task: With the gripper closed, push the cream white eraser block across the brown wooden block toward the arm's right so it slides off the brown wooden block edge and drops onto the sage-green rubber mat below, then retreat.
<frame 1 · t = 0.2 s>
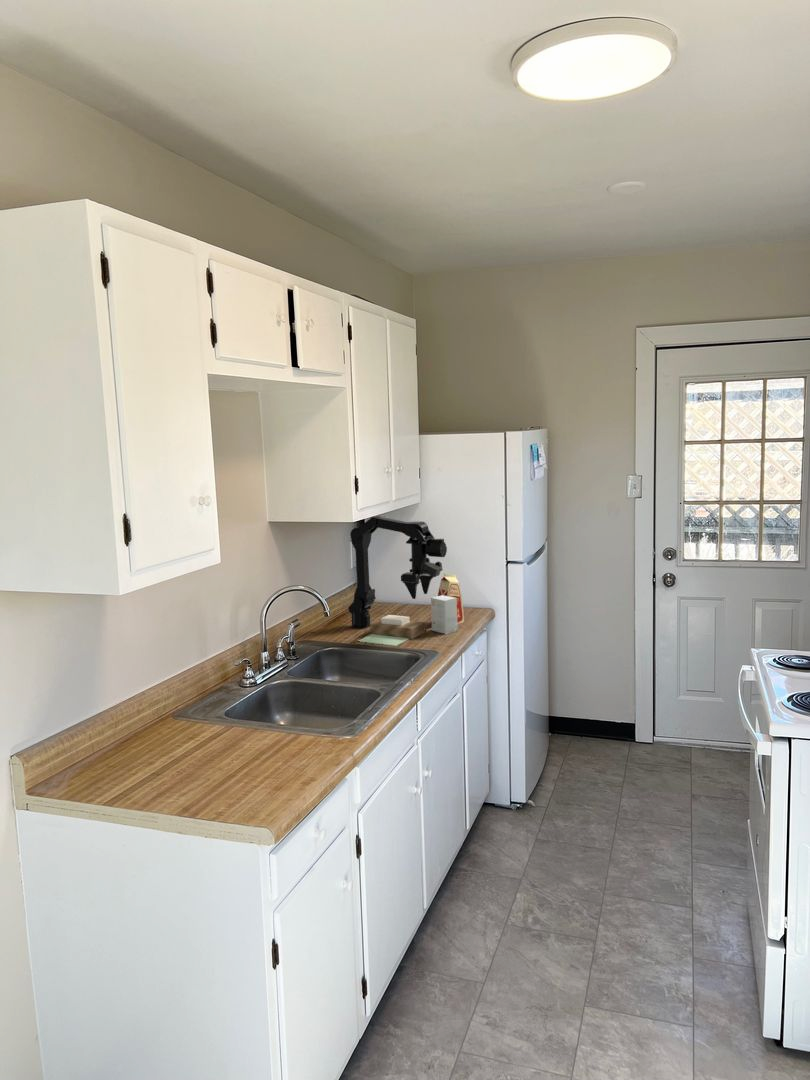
hand: (419, 596, 304), 14 cm above the worktop, fingers open, 9 cm apart
mat: (383, 640, 296), on the worktop
small box: (444, 631, 307), on the worktop
milk carton: (450, 622, 320), on the worktop
cream white eraser block: (395, 622, 306), point 4 cm above the worktop, touching brown wooden block
brown wooden block: (397, 633, 305), on the worktop
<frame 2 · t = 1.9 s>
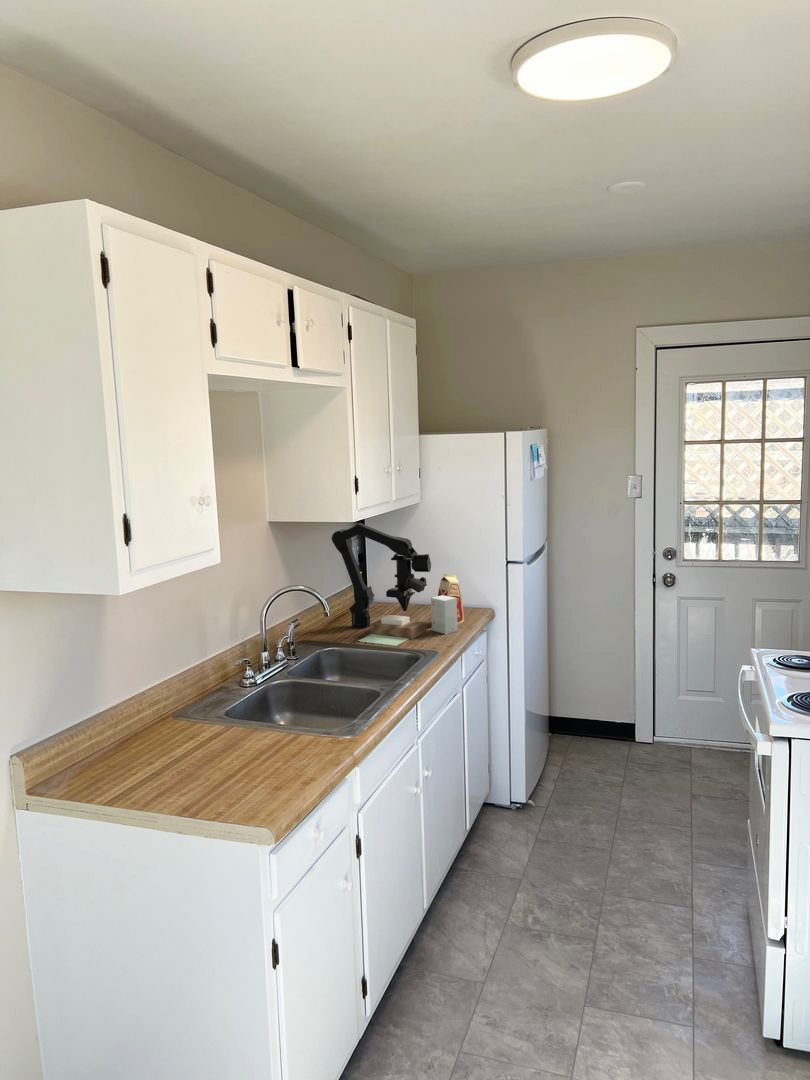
hand: (405, 611, 312), 7 cm above the worktop, fingers closed
nothing on the worktop moved.
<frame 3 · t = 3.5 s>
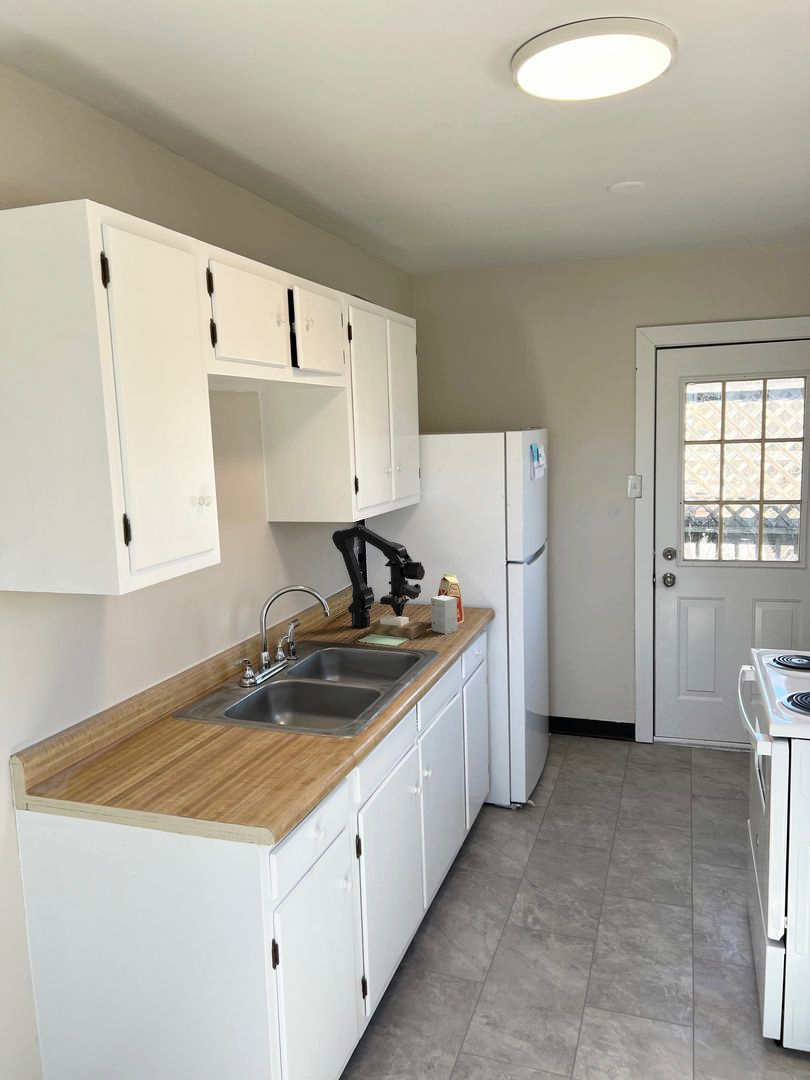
hand: (399, 618, 308), 5 cm above the worktop, fingers closed
nothing on the worktop moved.
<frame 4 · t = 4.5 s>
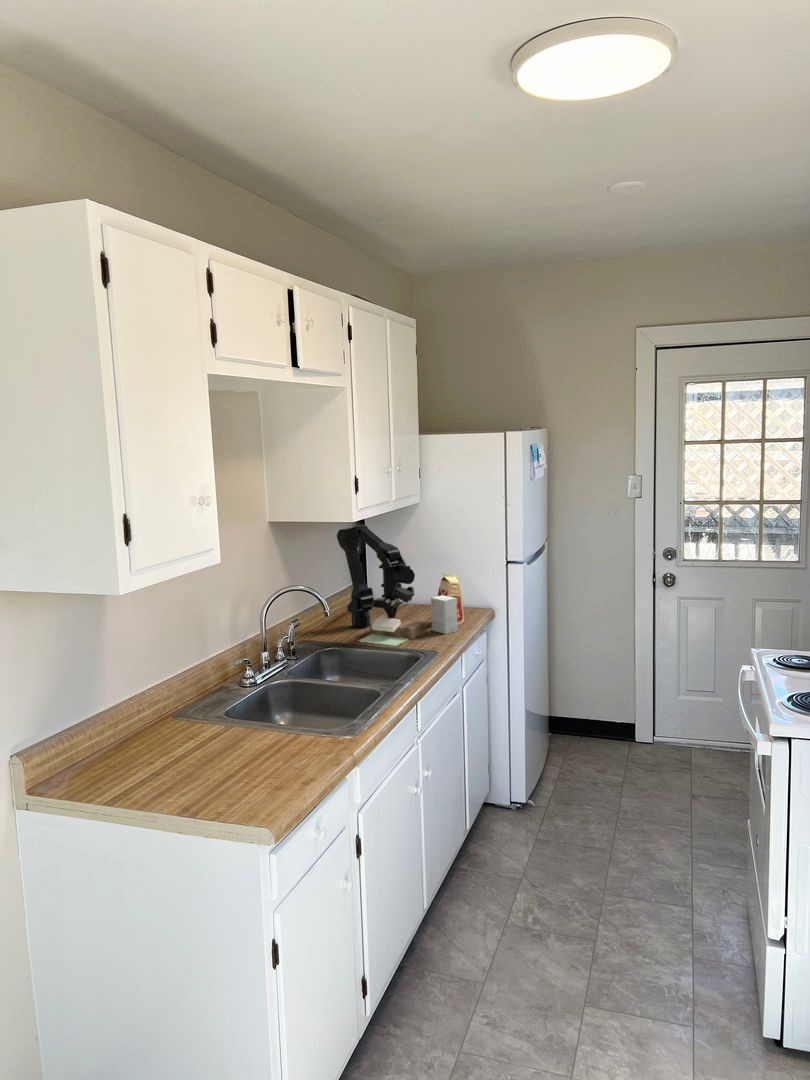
hand: (392, 621, 304), 5 cm above the worktop, fingers closed
cream white eraser block: (386, 626, 301), point 4 cm above the worktop, tilted 17°, touching brown wooden block
everything else where it was.
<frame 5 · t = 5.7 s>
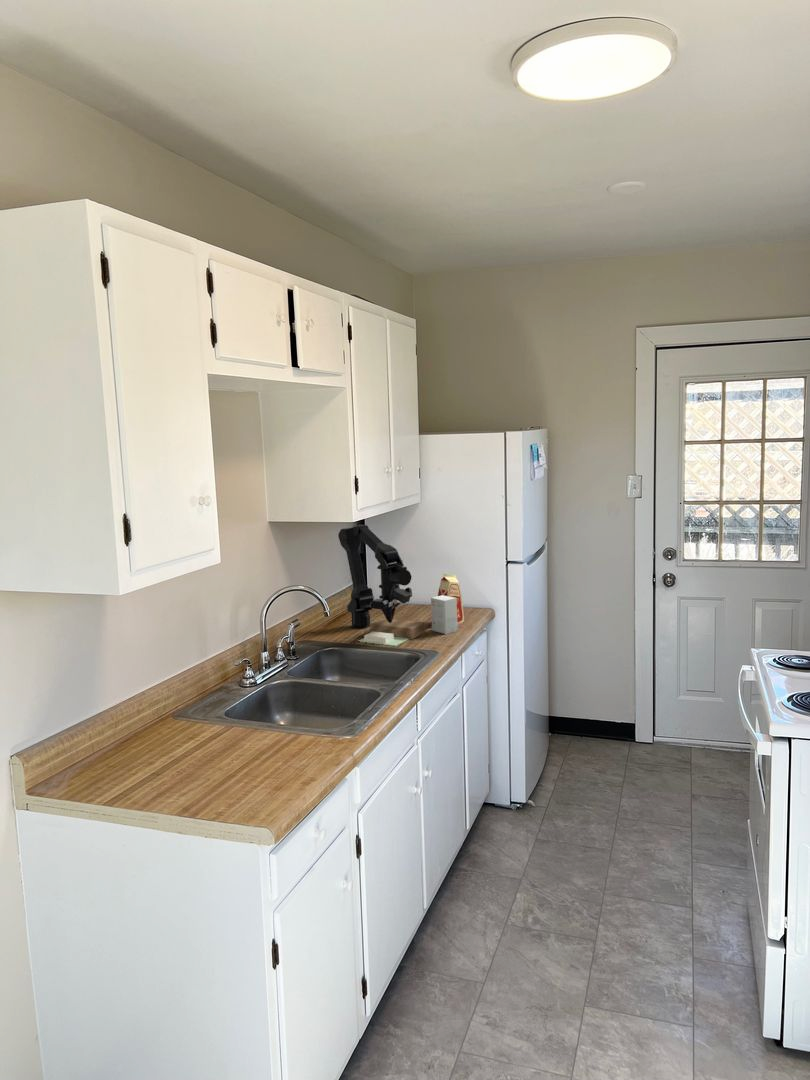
hand: (390, 622, 302), 5 cm above the worktop, fingers closed
cream white eraser block: (378, 634, 296), point 2 cm above the worktop, tilted 180°, touching mat
everything else where it was.
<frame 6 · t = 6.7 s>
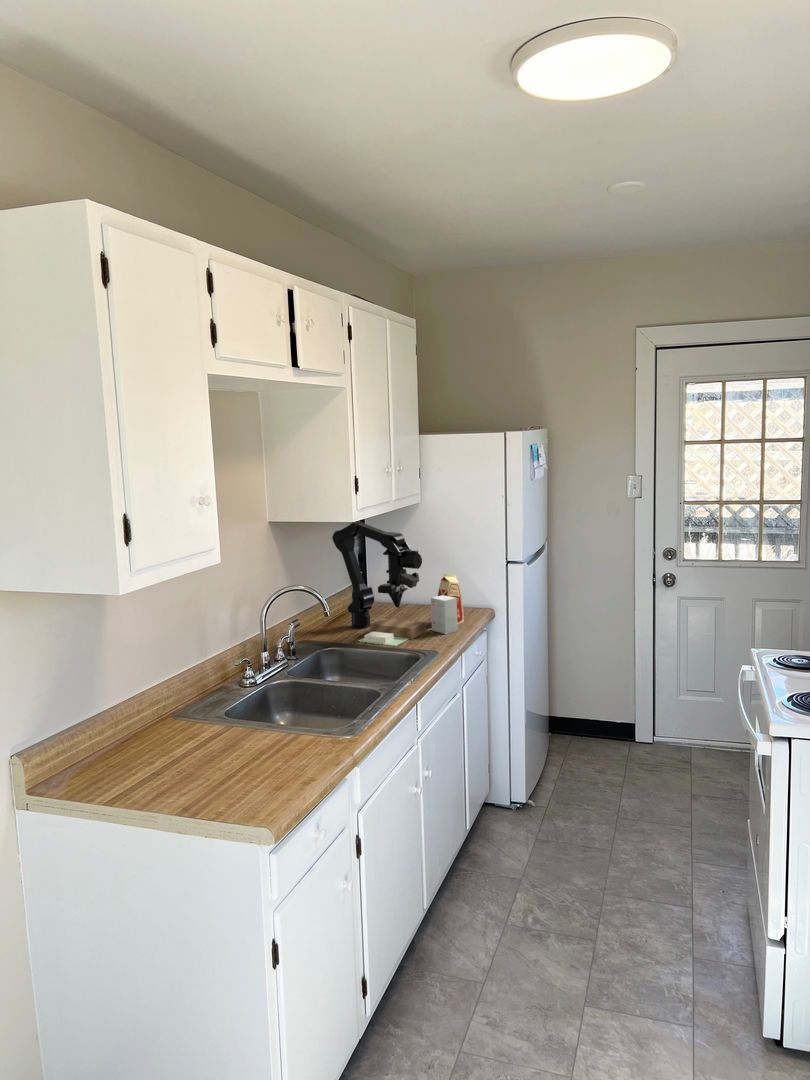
hand: (397, 607, 306), 10 cm above the worktop, fingers closed
nothing on the worktop moved.
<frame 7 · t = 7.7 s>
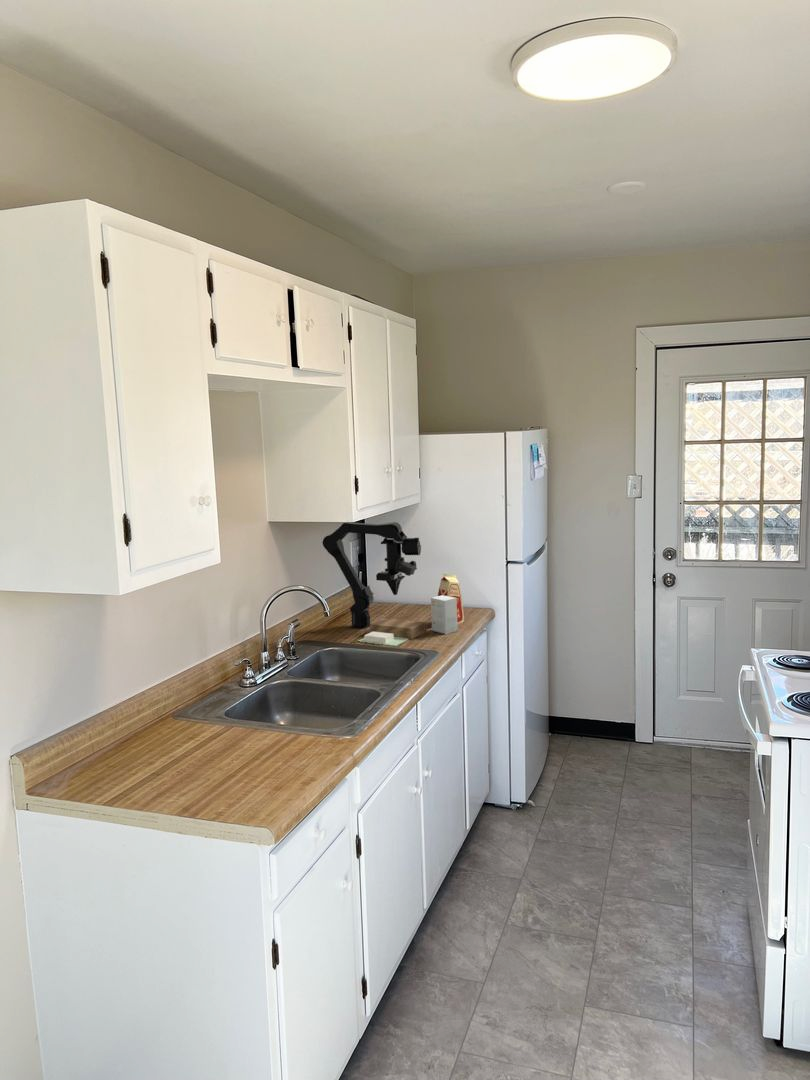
hand: (395, 594, 313), 13 cm above the worktop, fingers closed
nothing on the worktop moved.
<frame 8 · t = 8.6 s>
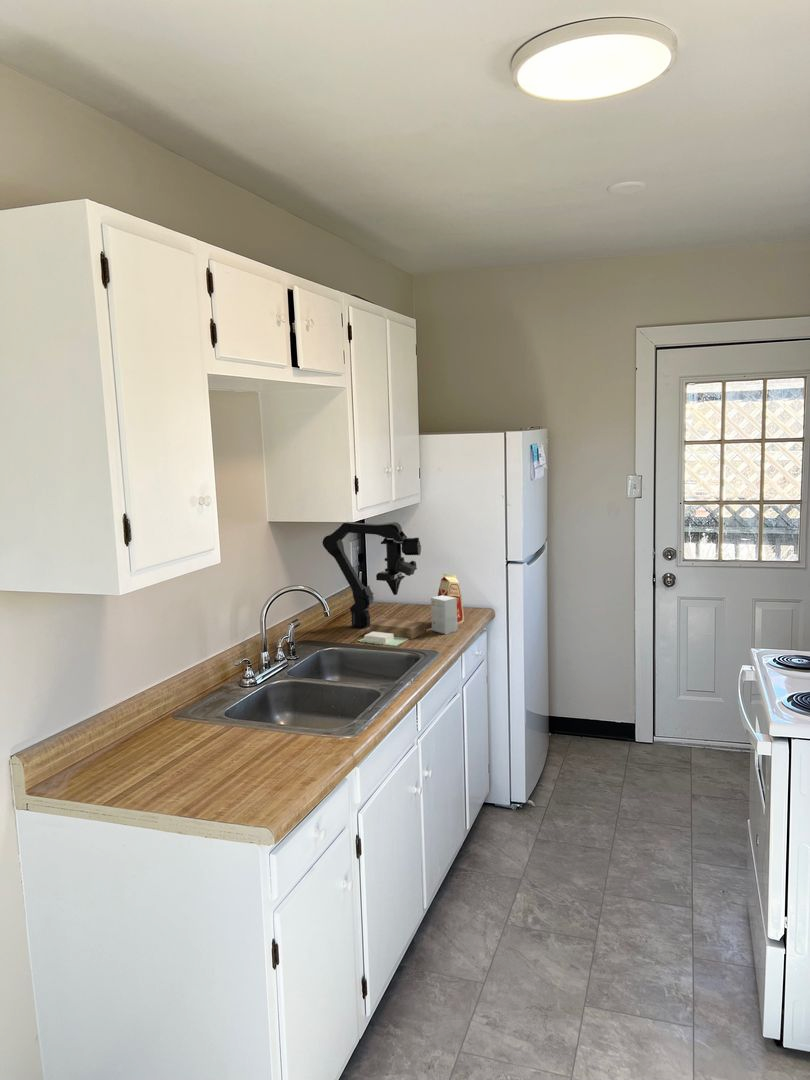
hand: (395, 594, 313), 13 cm above the worktop, fingers closed
nothing on the worktop moved.
at the end: cream white eraser block point 2.3 cm above the worktop; cream white eraser block inside the target area on the mat (1.6 cm from its centre), point 2.3 cm above the mat's base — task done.
